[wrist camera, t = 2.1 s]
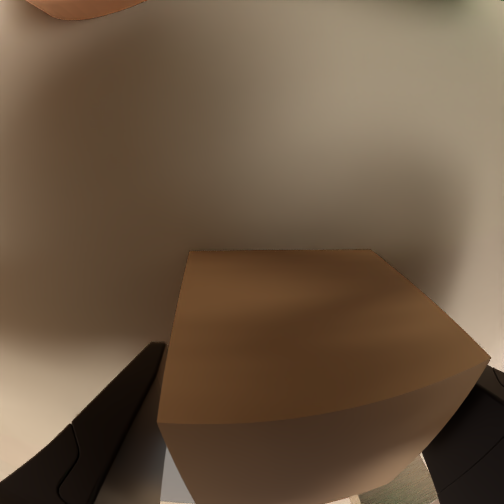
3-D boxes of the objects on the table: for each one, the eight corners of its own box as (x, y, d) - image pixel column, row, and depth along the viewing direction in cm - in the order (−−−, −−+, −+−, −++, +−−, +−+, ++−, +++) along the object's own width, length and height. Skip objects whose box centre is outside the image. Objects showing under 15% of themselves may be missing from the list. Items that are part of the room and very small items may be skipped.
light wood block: (401, 422, 12) (441, 496, 7) (391, 447, 14) (421, 510, 8) (340, 448, 12) (371, 531, 7) (339, 468, 14) (362, 536, 8)
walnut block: (369, 248, 8) (491, 357, 3) (337, 372, 9) (388, 483, 5) (190, 249, 7) (156, 422, 2) (201, 384, 9) (203, 516, 4)
